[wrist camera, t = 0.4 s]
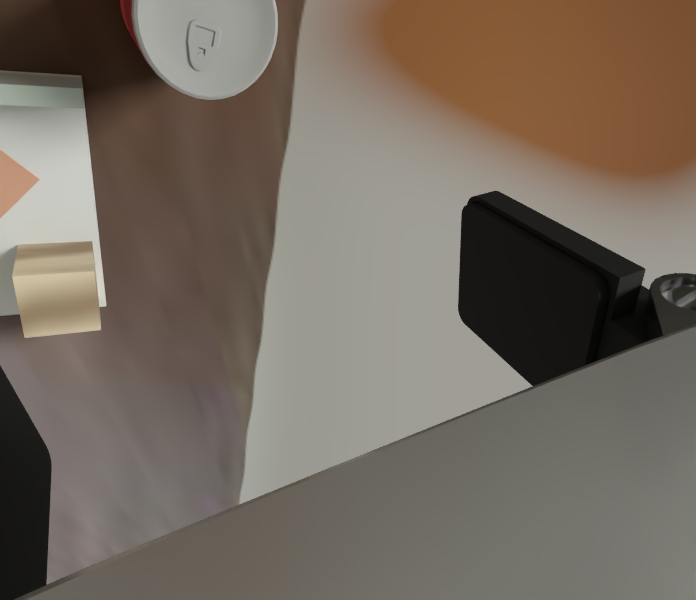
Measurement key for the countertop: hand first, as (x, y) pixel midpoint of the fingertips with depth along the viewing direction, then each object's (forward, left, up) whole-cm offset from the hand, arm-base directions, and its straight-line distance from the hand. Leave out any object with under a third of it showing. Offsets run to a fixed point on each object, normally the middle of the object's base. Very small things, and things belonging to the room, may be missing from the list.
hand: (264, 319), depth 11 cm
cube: (+16, -6, -34) cm, 38 cm away
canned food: (-3, +4, -35) cm, 35 cm away
